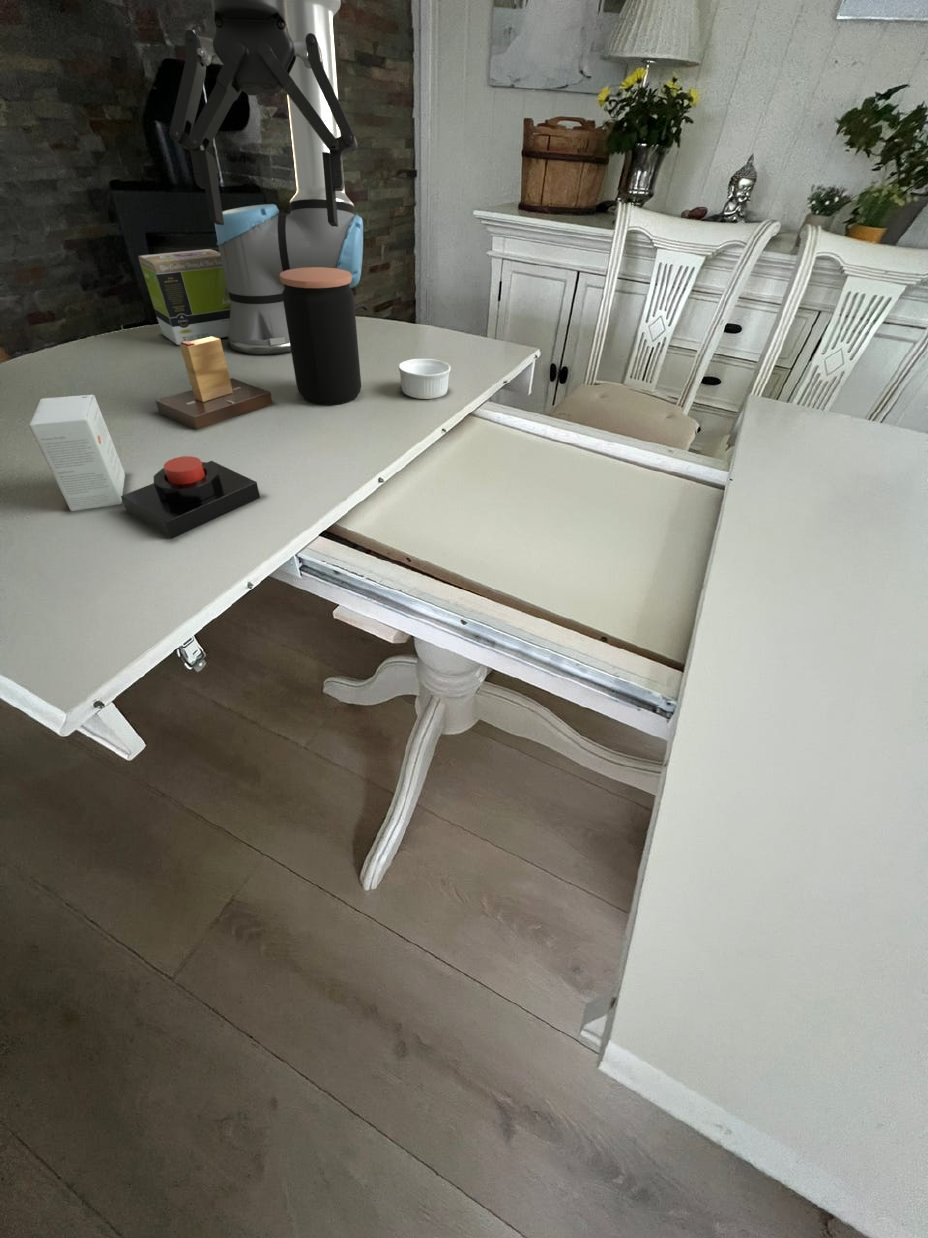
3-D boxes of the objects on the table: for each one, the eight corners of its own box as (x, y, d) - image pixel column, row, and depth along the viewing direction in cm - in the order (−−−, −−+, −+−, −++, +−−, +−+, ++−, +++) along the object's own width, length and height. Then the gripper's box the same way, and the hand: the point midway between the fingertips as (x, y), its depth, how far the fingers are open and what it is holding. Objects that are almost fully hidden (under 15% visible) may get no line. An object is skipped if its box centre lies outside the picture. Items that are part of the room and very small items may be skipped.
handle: (224, 389, 92) (211, 334, 86) (233, 392, 91) (220, 337, 85) (194, 398, 88) (178, 341, 83) (203, 402, 87) (187, 344, 82)
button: (192, 466, 68) (187, 452, 67) (212, 476, 66) (208, 462, 65) (161, 478, 65) (156, 464, 64) (181, 489, 64) (176, 475, 62)
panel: (234, 389, 97) (231, 376, 96) (272, 404, 93) (270, 390, 92) (159, 413, 89) (154, 399, 87) (197, 430, 84) (193, 415, 83)
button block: (215, 476, 74) (207, 446, 71) (260, 498, 70) (253, 468, 67) (127, 512, 66) (114, 481, 64) (171, 539, 62) (159, 507, 60)
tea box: (230, 324, 128) (212, 247, 118) (248, 335, 122) (231, 254, 112) (160, 334, 120) (136, 252, 111) (176, 346, 114) (152, 261, 105)
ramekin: (440, 381, 104) (440, 356, 101) (457, 397, 98) (458, 371, 95) (393, 385, 101) (392, 360, 98) (408, 403, 95) (407, 376, 92)
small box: (77, 481, 71) (39, 397, 65) (126, 475, 73) (94, 392, 66) (69, 512, 66) (26, 424, 59) (122, 505, 67) (86, 418, 61)
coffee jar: (368, 386, 100) (359, 268, 89) (353, 408, 92) (341, 282, 81) (309, 382, 101) (292, 265, 89) (289, 404, 93) (268, 278, 81)
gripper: (101, -55, 54) (153, 215, 63) (364, -46, 55) (377, 218, 64) (139, -10, 61) (181, 227, 70) (372, -3, 62) (383, 230, 71)
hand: (275, 223), depth 67 cm, fingers open, 13 cm apart
